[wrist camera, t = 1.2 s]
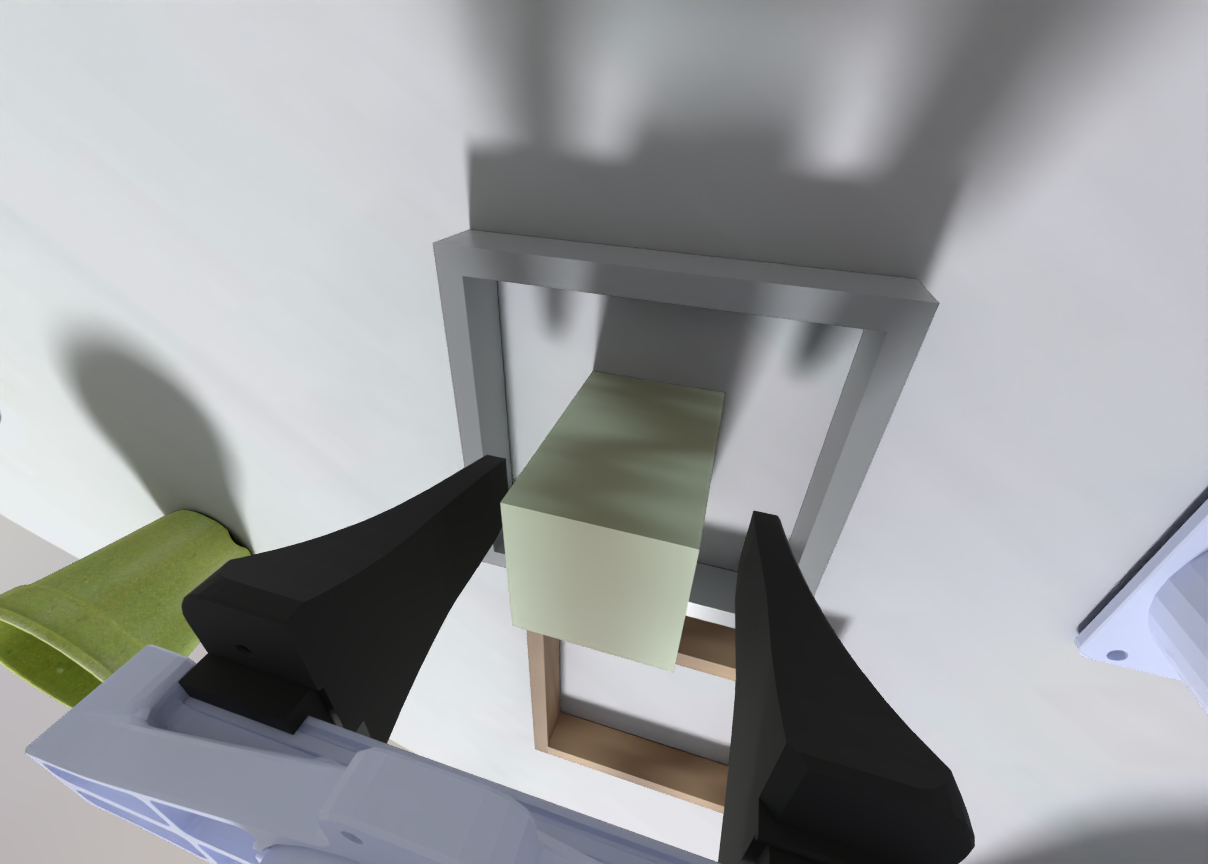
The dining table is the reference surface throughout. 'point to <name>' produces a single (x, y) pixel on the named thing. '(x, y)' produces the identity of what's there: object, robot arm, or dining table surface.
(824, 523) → the charcoal bin
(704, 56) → the dining table surface
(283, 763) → the robot arm
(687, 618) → the brown wooden square frame
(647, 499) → the sage block
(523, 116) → the dining table surface
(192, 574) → the plant pot
